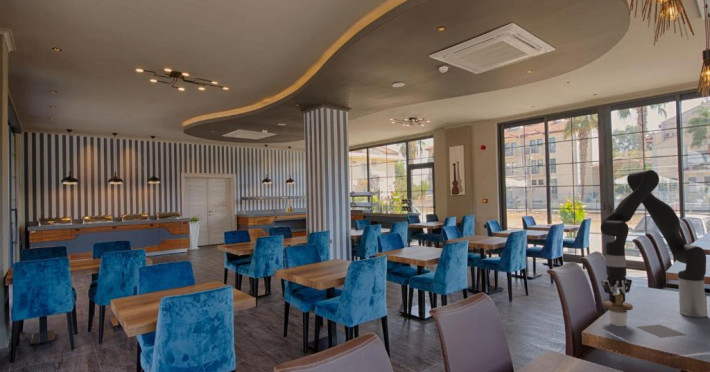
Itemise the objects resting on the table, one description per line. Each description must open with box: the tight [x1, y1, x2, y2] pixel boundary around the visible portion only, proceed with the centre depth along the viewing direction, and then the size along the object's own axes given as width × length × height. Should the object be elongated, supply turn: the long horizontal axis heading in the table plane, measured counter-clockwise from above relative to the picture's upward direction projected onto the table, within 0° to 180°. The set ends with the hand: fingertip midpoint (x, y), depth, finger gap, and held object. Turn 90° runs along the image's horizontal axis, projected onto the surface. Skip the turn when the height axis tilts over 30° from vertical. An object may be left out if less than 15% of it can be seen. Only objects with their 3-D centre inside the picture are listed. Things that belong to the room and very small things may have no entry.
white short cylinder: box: [608, 308, 628, 327], centre depth 172 cm, size 7×7×7 cm
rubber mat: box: [636, 324, 687, 339], centre depth 162 cm, size 12×12×1 cm
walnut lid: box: [602, 292, 634, 312], centre depth 172 cm, size 11×11×6 cm
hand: (617, 302), depth 172 cm, fingers closed on walnut lid, 4 cm apart
